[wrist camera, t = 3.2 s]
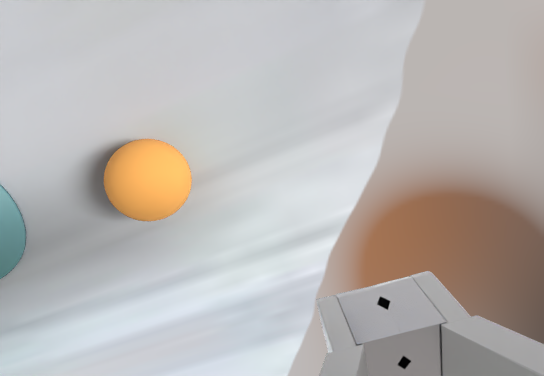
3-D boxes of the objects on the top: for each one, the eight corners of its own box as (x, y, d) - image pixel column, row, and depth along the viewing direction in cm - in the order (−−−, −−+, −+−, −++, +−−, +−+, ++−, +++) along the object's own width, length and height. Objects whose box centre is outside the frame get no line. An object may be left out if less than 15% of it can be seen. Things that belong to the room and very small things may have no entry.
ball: (106, 141, 24) (72, 166, 19) (181, 122, 24) (167, 142, 19) (136, 207, 26) (113, 246, 21) (205, 189, 26) (197, 224, 21)
